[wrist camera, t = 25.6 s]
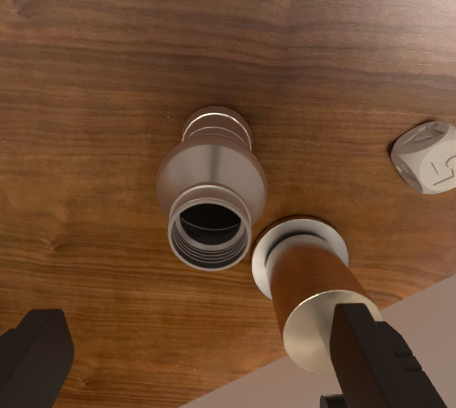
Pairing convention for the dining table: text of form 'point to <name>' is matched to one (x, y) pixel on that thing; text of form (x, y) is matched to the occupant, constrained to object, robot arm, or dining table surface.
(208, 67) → the dining table surface
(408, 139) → the die
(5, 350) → the robot arm
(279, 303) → the metal plunger pump
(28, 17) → the dining table surface
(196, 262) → the plastic bottle
